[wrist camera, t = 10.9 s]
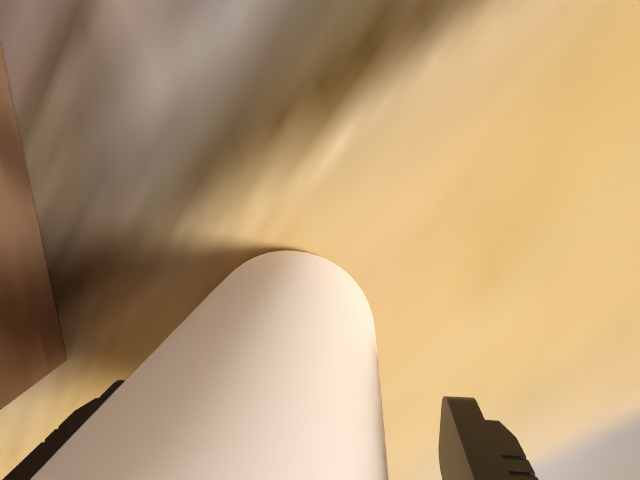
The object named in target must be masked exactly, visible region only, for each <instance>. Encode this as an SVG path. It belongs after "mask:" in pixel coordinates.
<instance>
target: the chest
mask: <svg viewBox="0 0 640 480" xmlns="http://www.w3.org/2000/svg"><path fill="white" fill-rule="evenodd" d="M66 360H67V359H66V354H65V349H64V345H63V340H62V335H61V330H60V326H59V321H58V316H57V311H56V306H55V302H54V297H53V292H52V287H51V283H50V278H49V273H48V268H47V264H46V259H45V254H44V249H43V245H42V240H41V235H40V230H39V226H38V221H37V216H36V211H35V206H34V202H33V197H32V192H31V187H30V183H29V178H28V173H27V168H26V164H25V159H24V154H23V149H22V145H21V140H20V135H19V130H18V125H17V121H16V116H15V111H14V106H13V102H12V97H11V92H10V87H9V83H8V78H7V73H6V68H5V64H4V59H3V54H2V49H1V44H0V410H1V409H2V408H3V407H5V406H6V405H7V404H9V403H10V402H11V401H13V400H14V399H15V398H17V397H18V396H19V395H21V394H22V393H23V392H25V391H26V390H27V389H29V388H30V387H31V386H33V385H34V384H35V383H37V382H38V381H39V380H41V379H42V378H43V377H45V376H46V375H47V374H49V373H50V372H51V371H53V370H54V369H55V368H57V367H58V366H59V365H61V364H62V363H63V362H65V361H66Z"/></svg>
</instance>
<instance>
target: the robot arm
mask: <svg viewBox="0 0 640 480" xmlns="http://www.w3.org/2000/svg"><path fill="white" fill-rule="evenodd" d="M124 382H125V380H118V381H116V382H115V383H113V384H112V385H111V386H110V387H109V388H108V389H107V390H106V391H105V392H104V393H103V394H102V395H101V396H100V397H99V398H95V399H93V400H92V401H90V402H89V403H87V404H85V405H84V406H82V407H80V408H79V409H77V410H75V411H74V412H73V413H72V414H71V415H70V416H69V417H68V418H67V419H66V420H65V421H64V422H63V423H61V424H60V425H59V428H58V429H55V430H54V431H53V432H52V433H51V434H50V435H49V436H48V437H47V438H46V439H45V442H44V443H43V442H42V443H40V444H39V445H38V446H37V447H36V448H35V449H34V450H33V451H32V452H31V453H30V454H29V455H28V456H27V457H26V458H25V459H24V460H23V461H22V462H20V463H19V464H18V465H17V466H16V467H15V468H14V469H13V470H12V471H11V472H10V473H9V474H8V475H7V476H6V477H5V478H4V479H3V480H30V479H31V478H32V477H33V476H34V475H35V474H36V473H37V472H38V471H39V470H40V469H41V468H42V467H43V466H44V465H45V464H46V463H47V462H48V461H49V460H50V458H51V457H52V456H53V455H54V454H55V453H56V452H57V451H58V450H59V449H60V448H61V447H62V446H63V445H64V444H65V443H66V442H67V441H68V440H69V439H70V438H71V436H72V435H73V434H74V433H75V432H76V431H77V430H78V429H79V428H80V427H81V426H82V425H83V424H84V423H85V422H86V421H87V420H88V419H89V418H90V417H91V416H92V415H93V414H94V413H95V412H96V411H97V410H98V408H99V407H100V406H101V405H102V404H103V403H104V402H105V401H106V400H107V399H108V398H109V397H110V396H111V395H112V394H113V393H114V392H115V391H116V390H117V389H118V388H119V387H120V386H121V385H122V384H123V383H124ZM439 463H440V470H441V475H442V479H443V480H538V478H537V477H535V472H534V470H533V469H532V467H531V465H530V463H529V461H528V460H526V455H525V453H524V452H523V450H522V448H521V446H520V444H519V442H518V440H517V438H516V437H515V436H514V435H513V434H512V433H511V432H510V431H509V430H508V429H507V428H506V427H505V426H504V425H503V424H501V423H500V422H499V421H493V420H485V419H484V417H483V415H482V413H481V410H480V408H479V406H478V404H477V402H476V400H475V399H474V398H467V397H446V396H444V397H443V399H442V408H441V421H440V435H439Z"/></svg>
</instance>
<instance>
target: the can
mask: <svg viewBox="0 0 640 480" xmlns="http://www.w3.org/2000/svg"><path fill="white" fill-rule="evenodd" d="M30 480H388V468H387V457H386V445H385V434H384V423H383V411H382V400H381V389H380V378H379V368H378V357H377V347H376V337H375V328H374V321H373V316H372V312H371V309H370V306H369V303H368V301H367V299H366V297H365V295H364V293H363V291H362V290H361V288H360V287H359V286H358V284H357V283H356V282H355V281H354V280H353V279H352V277H351V276H350V275H348V274H347V273H346V272H345V271H344V270H343V269H341V268H340V267H338V266H337V265H335V264H334V263H332V262H330V261H328V260H326V259H324V258H322V257H319V256H317V255H314V254H310V253H306V252H300V251H275V252H269V253H265V254H262V255H259V256H256V257H254V258H252V259H250V260H248V261H246V262H245V263H243V264H242V265H240V266H239V267H237V268H236V269H235V270H234V271H233V272H231V273H230V274H229V275H228V276H227V277H226V278H225V279H224V280H223V281H222V282H221V283H220V284H219V285H218V286H217V287H216V288H215V289H214V290H213V291H212V292H211V293H210V294H209V295H208V296H207V297H206V298H205V299H204V300H203V301H202V302H201V303H200V304H199V305H198V306H197V307H196V308H195V309H194V311H193V312H192V313H191V314H190V315H189V316H188V317H187V318H186V319H185V320H184V321H183V322H182V323H181V324H180V325H179V326H178V327H177V328H176V329H175V330H174V331H173V332H172V333H171V334H170V335H169V336H168V337H167V338H166V339H165V340H164V341H163V342H162V343H161V344H160V345H159V346H158V347H157V349H156V350H155V351H154V352H153V353H152V354H151V355H150V356H149V357H148V358H147V359H146V360H145V361H144V362H143V363H142V364H141V365H140V366H139V367H138V368H137V369H136V370H135V371H134V372H133V373H132V374H131V375H130V376H129V377H128V378H127V379H126V380H125V382H124V383H123V384H122V385H121V386H120V387H119V388H118V389H117V390H116V391H115V392H114V393H113V394H112V395H111V396H110V397H109V398H108V399H107V400H106V401H105V402H104V403H103V404H102V405H101V406H100V407H99V408H98V410H97V411H96V412H95V413H94V414H93V415H92V416H91V417H90V418H89V419H88V420H87V421H86V422H85V423H84V424H83V425H82V426H81V427H80V428H79V429H78V430H77V431H76V432H75V433H74V434H73V435H72V436H71V438H70V439H69V440H68V441H67V442H66V443H65V444H64V445H63V446H62V447H61V448H60V449H59V450H58V451H57V452H56V453H55V454H54V455H53V456H52V457H51V458H50V460H49V461H48V462H47V463H46V464H45V465H44V466H43V467H42V468H41V469H40V470H39V471H38V472H37V473H36V474H35V475H34V476H33V477H32V478H31V479H30Z"/></svg>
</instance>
